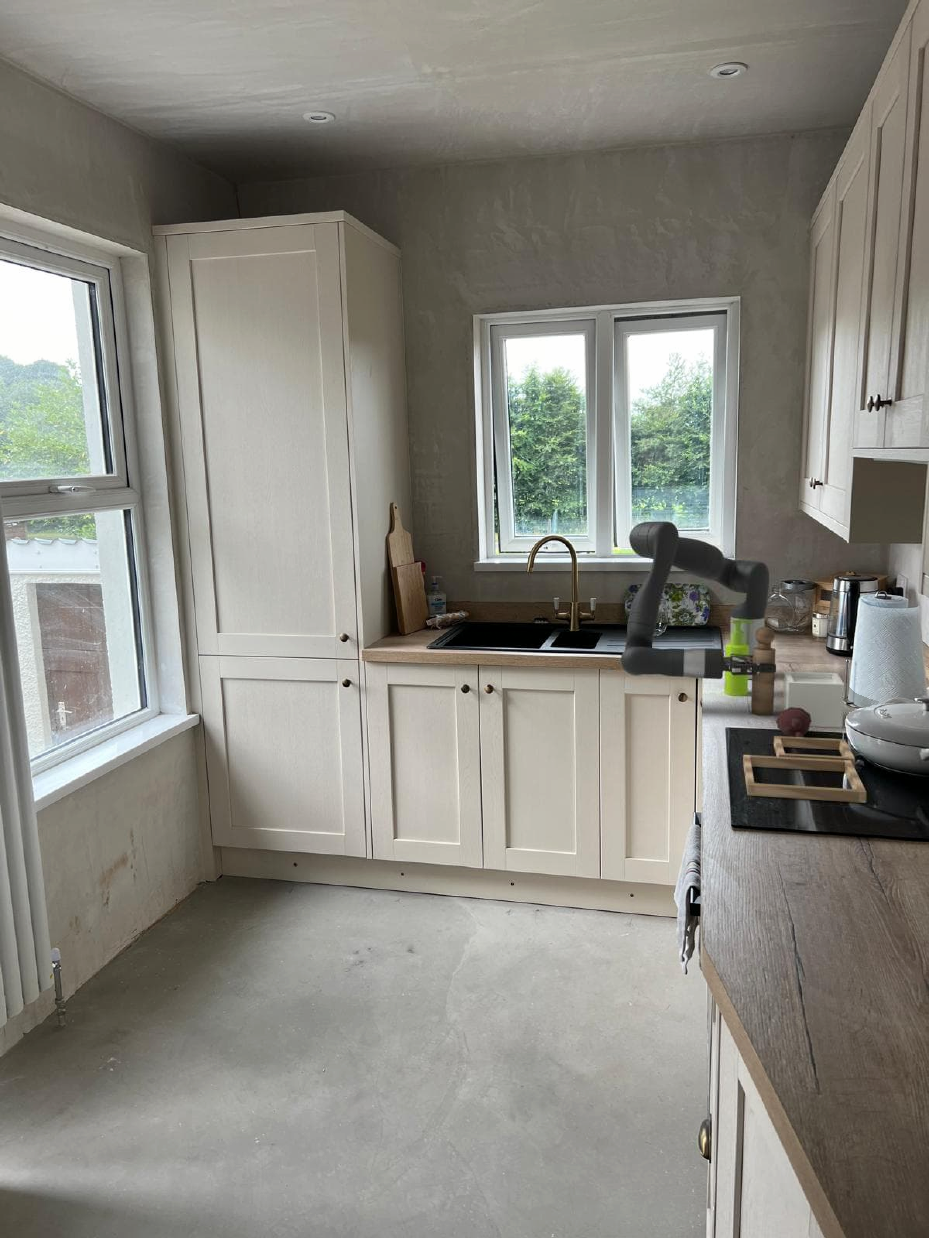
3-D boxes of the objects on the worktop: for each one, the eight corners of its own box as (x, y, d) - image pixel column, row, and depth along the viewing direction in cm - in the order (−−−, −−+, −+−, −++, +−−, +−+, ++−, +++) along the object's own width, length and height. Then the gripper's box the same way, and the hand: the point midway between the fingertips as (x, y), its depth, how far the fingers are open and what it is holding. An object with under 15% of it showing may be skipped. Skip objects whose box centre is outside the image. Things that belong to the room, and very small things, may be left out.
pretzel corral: (743, 764, 187) (743, 754, 186) (850, 770, 182) (850, 760, 181) (747, 795, 169) (747, 784, 169) (865, 802, 164) (866, 792, 164)
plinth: (782, 711, 225) (784, 671, 223) (834, 713, 222) (836, 673, 220) (787, 725, 213) (788, 682, 212) (842, 727, 210) (844, 684, 209)
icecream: (769, 699, 212) (777, 723, 197) (803, 693, 210) (813, 716, 195) (776, 727, 213) (784, 752, 199) (809, 721, 211) (820, 746, 197)
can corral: (773, 744, 199) (774, 735, 199) (844, 748, 195) (844, 739, 195) (778, 764, 186) (779, 754, 186) (854, 768, 183) (855, 758, 182)
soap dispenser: (752, 696, 240) (754, 621, 237) (725, 695, 241) (727, 621, 238) (750, 691, 246) (752, 617, 242) (723, 690, 247) (725, 617, 244)
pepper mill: (750, 709, 227) (753, 624, 224) (772, 710, 226) (775, 625, 222) (751, 715, 222) (754, 628, 219) (774, 716, 221) (777, 629, 218)
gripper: (703, 654, 218) (778, 656, 214) (703, 642, 232) (773, 644, 228) (702, 684, 220) (777, 687, 215) (702, 671, 233) (772, 673, 229)
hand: (774, 665), depth 222 cm, fingers closed on pepper mill, 5 cm apart
